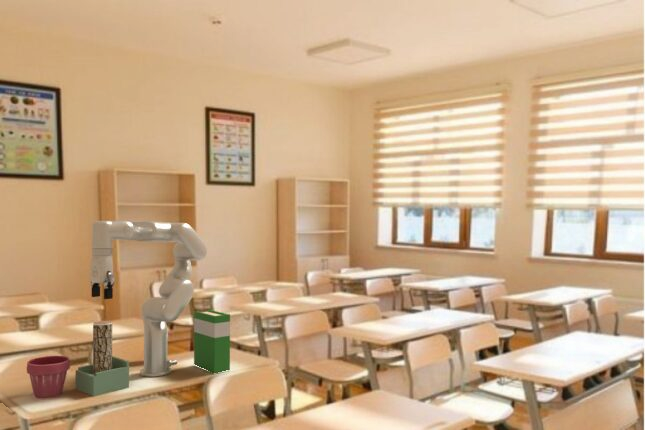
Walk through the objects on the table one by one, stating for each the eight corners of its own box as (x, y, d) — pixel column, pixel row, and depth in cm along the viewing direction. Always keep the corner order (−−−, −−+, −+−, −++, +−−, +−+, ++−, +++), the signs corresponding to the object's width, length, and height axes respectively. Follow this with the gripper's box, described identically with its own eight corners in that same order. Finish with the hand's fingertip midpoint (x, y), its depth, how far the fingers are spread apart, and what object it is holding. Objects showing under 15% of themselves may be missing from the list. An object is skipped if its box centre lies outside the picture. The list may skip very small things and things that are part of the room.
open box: (110, 380, 215) (110, 355, 215) (129, 387, 206) (129, 361, 206) (75, 388, 204) (75, 362, 204) (93, 396, 195) (93, 368, 195)
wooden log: (105, 391, 201) (105, 324, 201) (88, 390, 202) (89, 323, 203) (115, 386, 207) (116, 321, 208) (99, 385, 209) (100, 320, 209)
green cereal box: (194, 365, 238) (194, 311, 238) (208, 363, 243) (209, 309, 243) (214, 373, 225) (214, 316, 225) (229, 370, 229) (230, 314, 230)
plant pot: (76, 394, 197) (76, 359, 197) (35, 404, 187) (36, 366, 187) (60, 386, 207) (60, 353, 207) (20, 395, 196) (20, 360, 197)
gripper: (82, 252, 209) (81, 296, 209) (103, 254, 198) (103, 300, 197) (100, 252, 215) (100, 295, 214) (122, 253, 203) (122, 298, 203)
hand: (101, 297), depth 206 cm, fingers open, 9 cm apart
